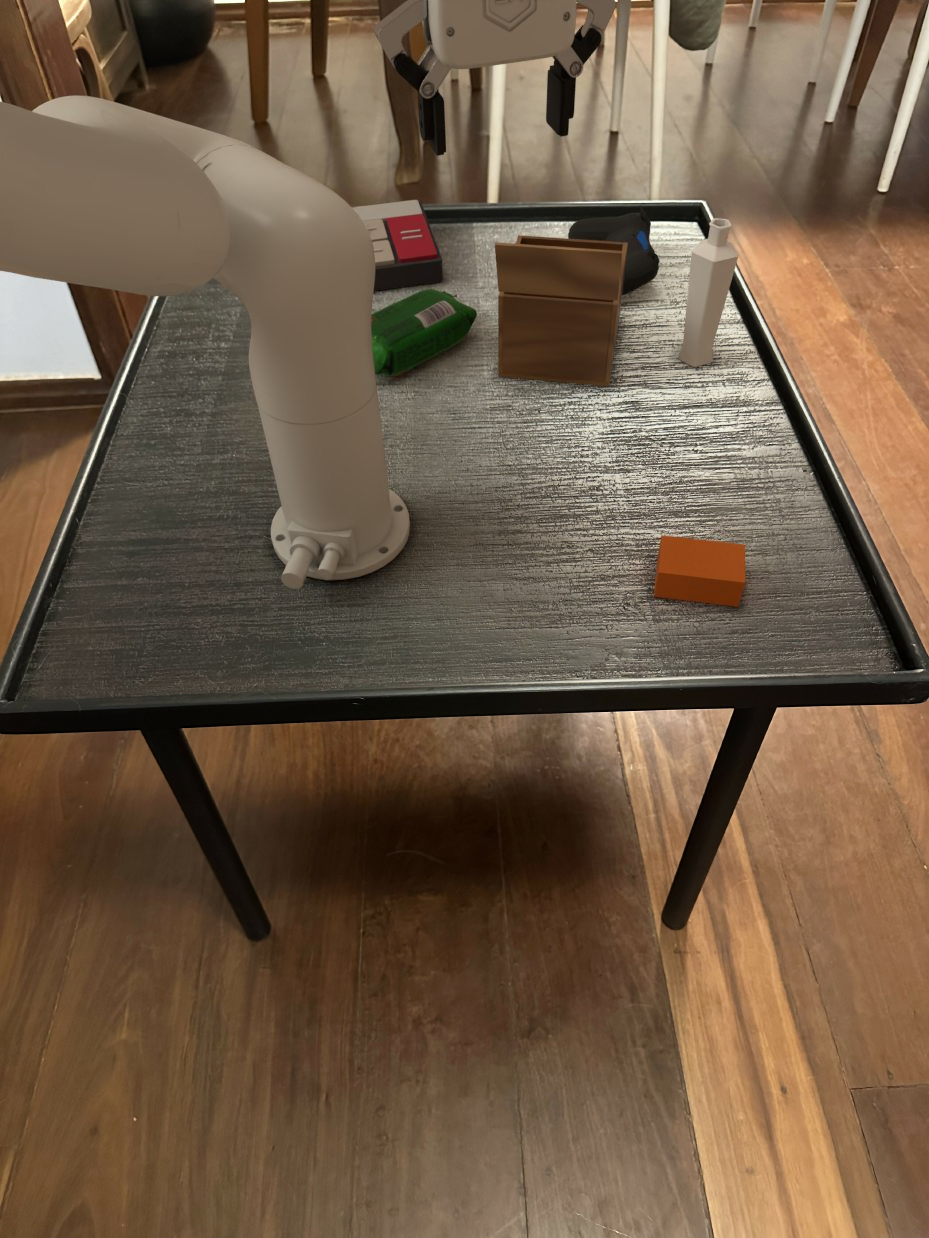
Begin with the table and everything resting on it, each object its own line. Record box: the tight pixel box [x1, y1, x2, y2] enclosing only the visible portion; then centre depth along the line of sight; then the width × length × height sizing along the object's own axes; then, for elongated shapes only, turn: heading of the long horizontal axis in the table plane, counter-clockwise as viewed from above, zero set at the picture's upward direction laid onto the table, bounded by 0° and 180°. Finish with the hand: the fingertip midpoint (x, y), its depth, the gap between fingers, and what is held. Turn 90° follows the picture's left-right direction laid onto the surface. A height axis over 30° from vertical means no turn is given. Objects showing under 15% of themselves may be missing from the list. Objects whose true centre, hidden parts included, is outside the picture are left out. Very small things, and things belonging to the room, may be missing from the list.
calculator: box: [351, 199, 444, 292], centre depth 116 cm, size 11×4×15 cm
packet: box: [653, 534, 747, 608], centre depth 77 cm, size 4×7×3 cm, turn 79°
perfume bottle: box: [676, 217, 740, 368], centre depth 95 cm, size 5×4×15 cm
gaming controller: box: [567, 205, 660, 296], centre depth 111 cm, size 17×6×10 cm
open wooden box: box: [497, 234, 628, 387], centre depth 99 cm, size 13×12×10 cm
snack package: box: [371, 288, 478, 377], centre depth 101 cm, size 7×16×5 cm, turn 131°
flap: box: [494, 242, 622, 301], centre depth 88 cm, size 6×12×1 cm
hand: (497, 139), depth 70 cm, fingers open, 9 cm apart
